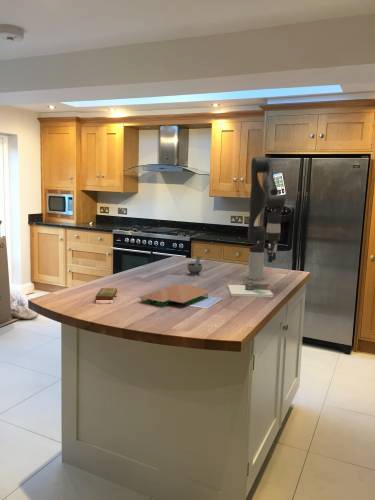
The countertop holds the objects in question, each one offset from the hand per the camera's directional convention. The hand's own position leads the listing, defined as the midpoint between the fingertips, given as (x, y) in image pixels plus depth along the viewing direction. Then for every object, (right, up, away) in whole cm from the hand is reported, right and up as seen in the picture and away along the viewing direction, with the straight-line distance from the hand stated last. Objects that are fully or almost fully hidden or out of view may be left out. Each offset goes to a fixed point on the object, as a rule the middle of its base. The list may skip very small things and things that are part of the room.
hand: (271, 261), depth 238 cm
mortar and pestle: (-42, -10, +39) cm, 59 cm away
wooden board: (-52, -19, -21) cm, 60 cm away
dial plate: (-13, -17, -3) cm, 21 cm away
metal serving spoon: (-8, -15, -3) cm, 18 cm away
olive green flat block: (-88, -19, -23) cm, 93 cm away
